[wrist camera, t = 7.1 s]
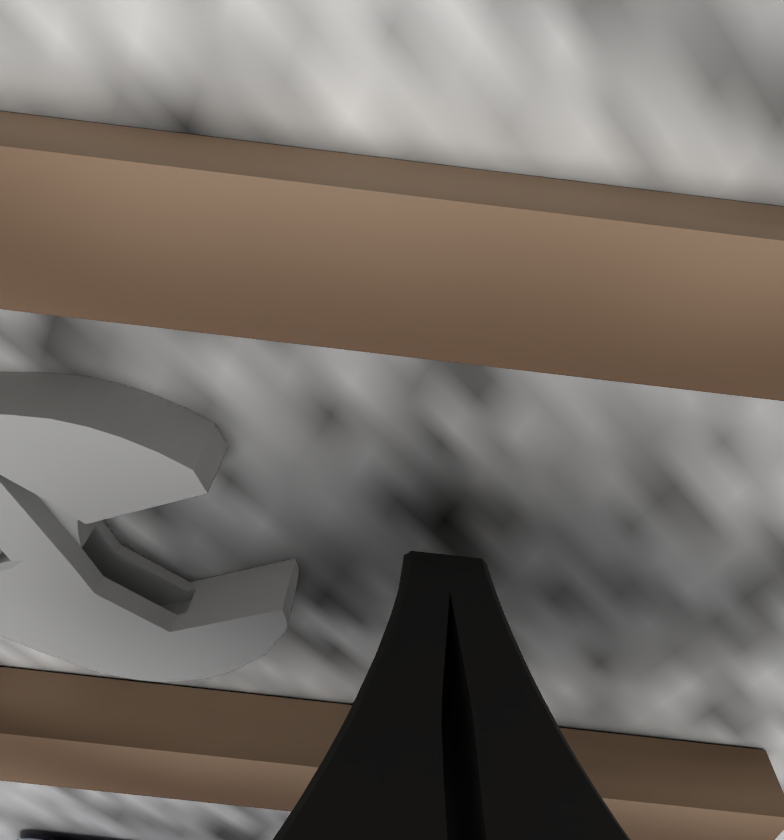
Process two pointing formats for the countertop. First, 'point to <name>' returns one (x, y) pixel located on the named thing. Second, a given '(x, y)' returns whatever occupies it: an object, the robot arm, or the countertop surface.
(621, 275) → the guide channel
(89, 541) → the adjustable wrench
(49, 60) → the countertop surface
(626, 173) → the countertop surface
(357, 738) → the robot arm
